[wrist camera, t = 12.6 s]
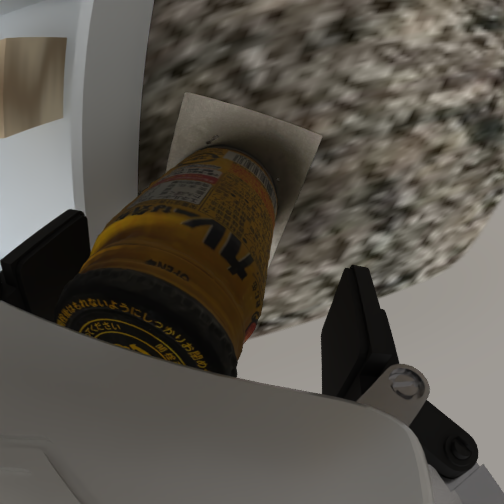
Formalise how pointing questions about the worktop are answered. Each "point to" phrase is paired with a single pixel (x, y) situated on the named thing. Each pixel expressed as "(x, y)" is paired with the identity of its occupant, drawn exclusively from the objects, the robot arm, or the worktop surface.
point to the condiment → (195, 240)
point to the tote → (77, 117)
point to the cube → (30, 82)
